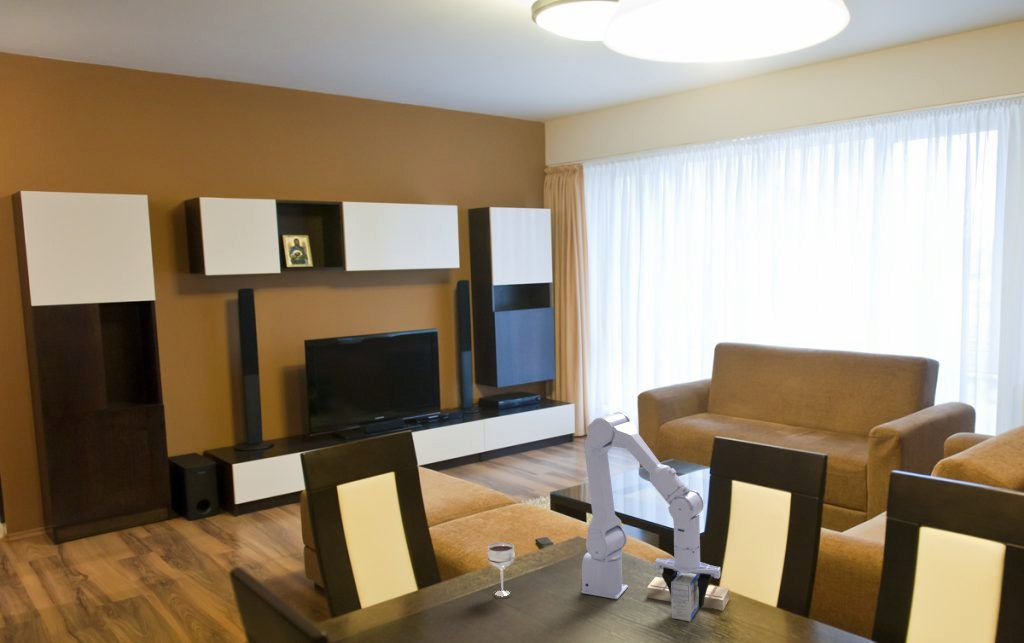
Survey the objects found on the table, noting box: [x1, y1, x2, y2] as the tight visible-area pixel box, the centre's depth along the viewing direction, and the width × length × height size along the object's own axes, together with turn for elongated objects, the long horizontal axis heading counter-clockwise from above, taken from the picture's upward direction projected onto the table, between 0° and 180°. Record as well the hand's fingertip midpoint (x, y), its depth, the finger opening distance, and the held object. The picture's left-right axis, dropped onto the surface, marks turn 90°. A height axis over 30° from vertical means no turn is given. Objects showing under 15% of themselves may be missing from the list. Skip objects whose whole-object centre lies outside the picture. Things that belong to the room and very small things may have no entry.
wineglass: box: [487, 541, 516, 597], centre depth 188 cm, size 7×7×12 cm
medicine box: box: [670, 572, 700, 622], centre depth 175 cm, size 8×4×9 cm, turn 153°
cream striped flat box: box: [646, 576, 730, 611], centre depth 183 cm, size 18×7×3 cm, turn 63°
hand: (687, 603), depth 175 cm, fingers open, 5 cm apart
